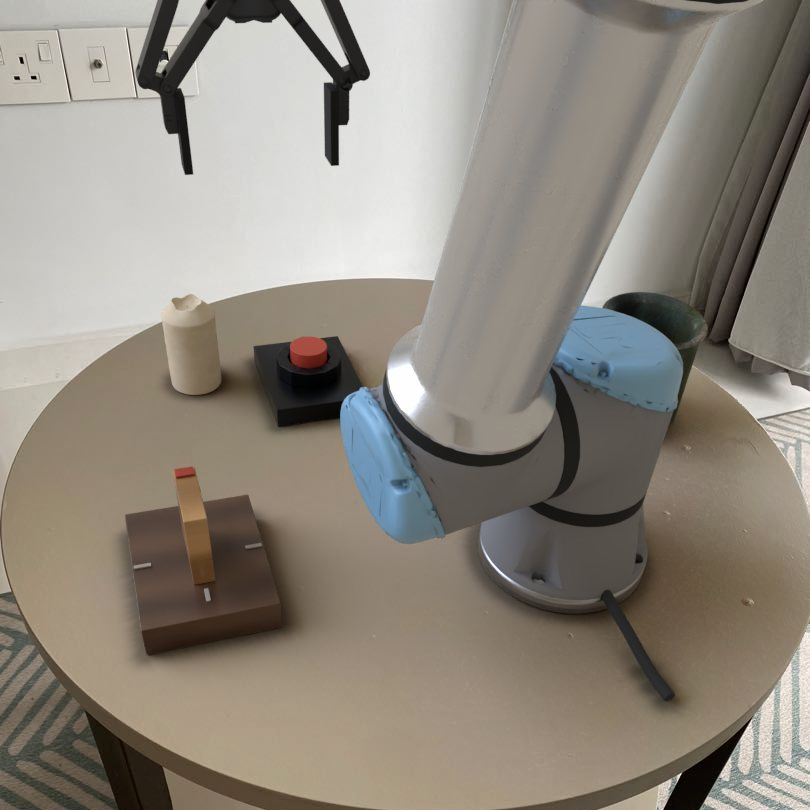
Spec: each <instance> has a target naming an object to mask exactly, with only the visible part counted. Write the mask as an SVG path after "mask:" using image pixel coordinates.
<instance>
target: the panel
mask: <svg viewBox="0 0 810 810" xmlns="http://www.w3.org/2000/svg"><path fill="white" fill-rule="evenodd" d="M250 499H251V498H250V496H249V494H242V495H237V496H230V497H229V496H228V497H223V498H217V499H212V500H205V501H203V504H204V508H205V512H206V516H207V522H208V529H209V536H210V543H211V550H212V558H213V565H214V572H215V579H216V580H215V581H212V582H207V583H202V584H196V585H194V584H193V579H192V574H191V569H190V565H189V560H188V555H187V550H186V545H185V540H184V535H183V530H182V524H181V518H180V512H179V506H178V505H175V506H170V507H169V506H168V507H163V508H158V509H150V510H145V511H138V512H133V513H127V514H124V521H125V527H126V535H127V541H128V542H127V543H128V549H129V557H130V564H131V571H132V577H133V578H132V579H133V586H134V592H135V600H136V606H137V613H138V620H139V621H138V622H139V627H140V634H141V637H142V641H143V645H144V650H145V654H146V656H149V655H154V654H159V653H163V652H169V651H172V650H177V649H183V648H187V647H188V648H189V647H192V646H197V645H203V644H208V643H213V642H217V641H222V640H227V639H231V638H236V637H241V636H246V635H251V634H255V633H256V634H257V633H262V632H267V631H271V630H275V629H280V628H282V627H283V620H282V607H281V606H282V605H281V604H282V603H281V600H280V597H279V593H278V590H277V587H276V583H275V580H274V576H273V573H272V569H271V566H270V563H269V560H268V557H267V552H266V550H265V546H264V543H263V539H262V536H261V532H260V530H259V526H258V522H257V519H256V516H255V511H254V509H253V506H252V502H251V500H250Z"/></svg>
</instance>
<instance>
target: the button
mask: <svg viewBox="0 0 810 810" xmlns="http://www.w3.org/2000/svg"><path fill="white" fill-rule="evenodd" d="M320 338H321V337H316V336H301V337H297V338H295V339H294V340H292V341H290V342H291V344H290V357H291V362H292V364H293V365H295V366H297V367H302V368H316V367H321V366H322V365H324V364H326V362H327V344H326V343H325V341H323V340H322V339H320Z"/></svg>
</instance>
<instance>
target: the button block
mask: <svg viewBox="0 0 810 810" xmlns="http://www.w3.org/2000/svg"><path fill="white" fill-rule="evenodd" d="M319 338H320V339H322V340H323V341H325V343H326V344H327V362H326V364H324V365H322V366H321V367H316V368H302V367H297V366H295V365H293V364H292V362H291V357H290V344H291V342H292V341H285V342H277V343H267V344H261V345H253V361H254V364H255V367H256V370H257V373H258V376H259V378H260V380H261V384H262V386H263V390H264V392H265V394H266V397H267V401H268V403H269V406H270V408H271V412H272V414H273V417H274V420H275V422H276V425H277V427H278V428H279V427H288V426H293V425H300V424H307V423H314V422H321V421H328V420H335V419H336V420H337V419H340V413H341V406H342V403H343V401H344V399H345V398H346V397H347V396H348V395H350V394H352V393H354V392H357V391H359V390H360V388H361V387H364V386H363V383H362V381H361V379H360V378H359V377H360V376H359V375H358V373H357V371H356V369H355V367H354V366H353V363H352V362H351V359H350V358H349V355H348V354H347V352H346V350H345V348H344V345H343V344H342V341H341V340H340V338H339V336H338V335H334V336H328V337H327V336H326V337H319Z"/></svg>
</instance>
